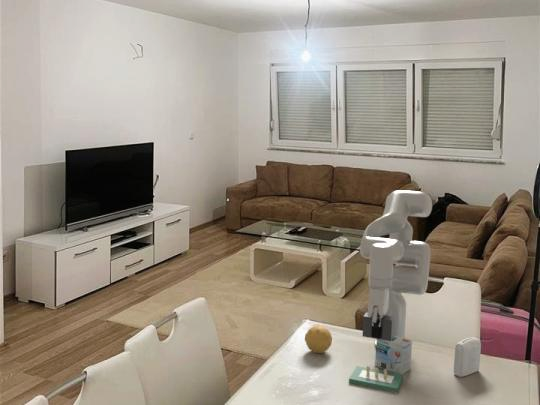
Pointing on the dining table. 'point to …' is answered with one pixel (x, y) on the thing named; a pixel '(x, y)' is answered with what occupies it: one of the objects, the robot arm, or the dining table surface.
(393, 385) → the board
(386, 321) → the gray rectangular block
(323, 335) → the stress ball
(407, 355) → the light bulb box
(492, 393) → the dining table surface
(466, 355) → the white upright block
